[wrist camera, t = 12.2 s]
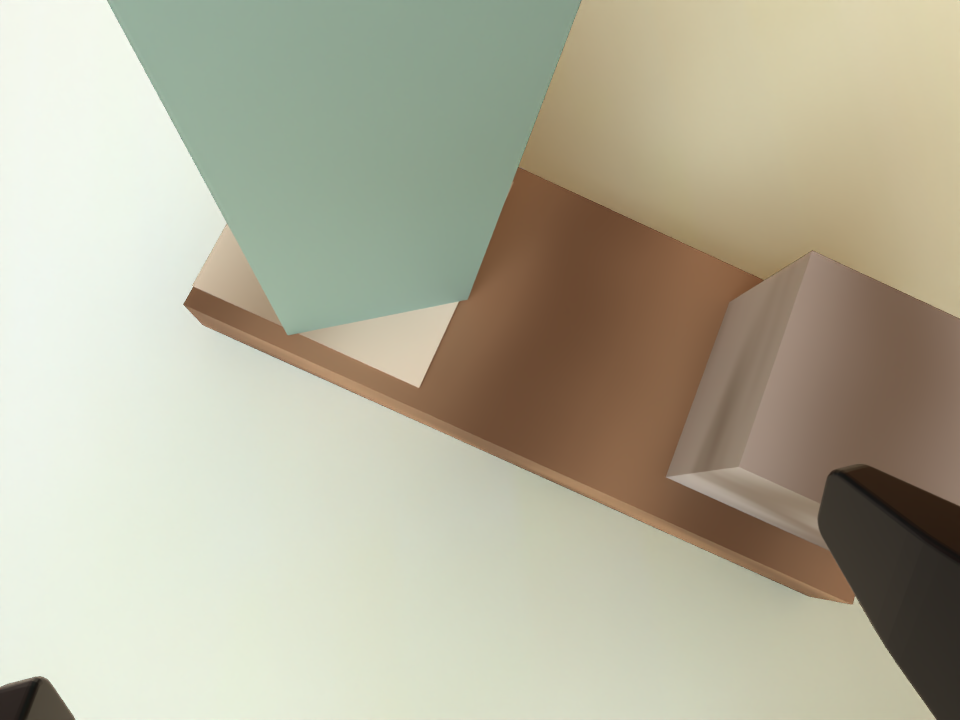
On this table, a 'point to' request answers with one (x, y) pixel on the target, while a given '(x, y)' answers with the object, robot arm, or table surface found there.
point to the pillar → (353, 135)
